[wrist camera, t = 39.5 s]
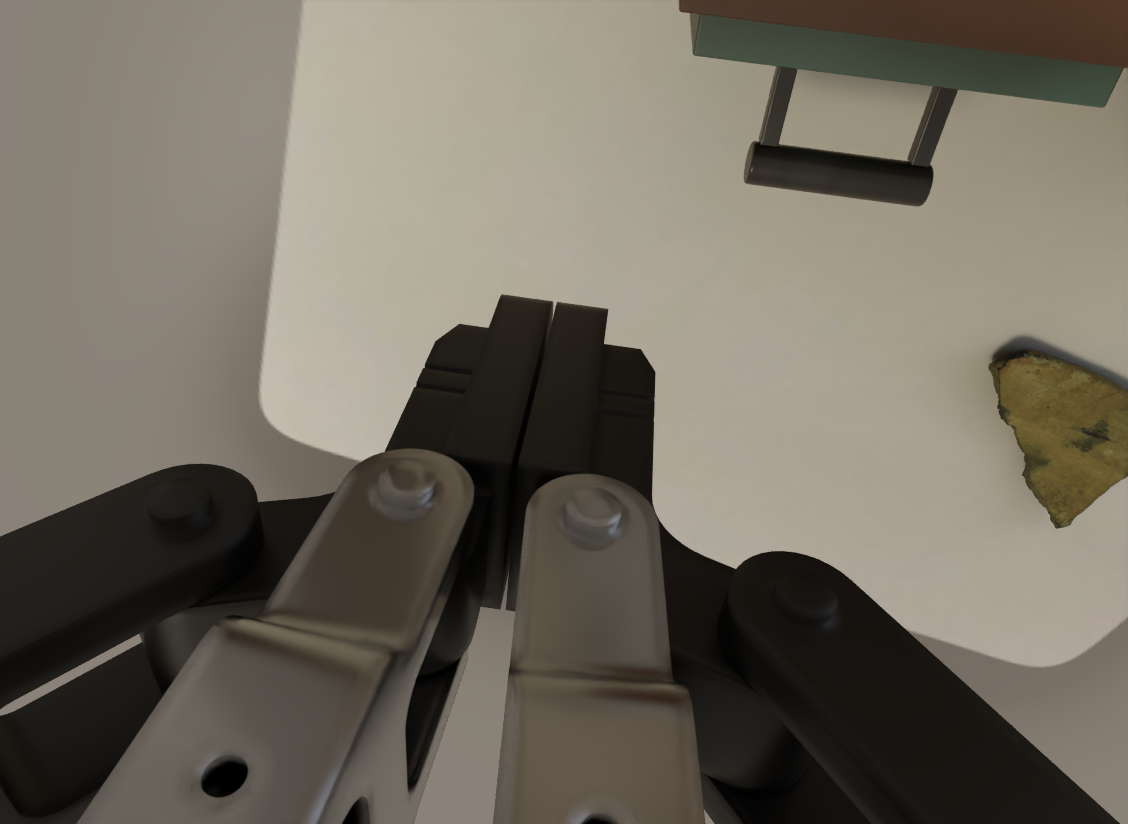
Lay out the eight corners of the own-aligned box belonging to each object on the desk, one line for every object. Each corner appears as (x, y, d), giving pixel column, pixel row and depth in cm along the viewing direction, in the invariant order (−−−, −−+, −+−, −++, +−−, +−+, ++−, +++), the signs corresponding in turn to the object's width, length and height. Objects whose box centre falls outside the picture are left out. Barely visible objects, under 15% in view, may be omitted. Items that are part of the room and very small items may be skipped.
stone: (972, 354, 37) (982, 372, 36) (1128, 294, 35) (1145, 312, 34) (1039, 519, 43) (1050, 541, 41) (1179, 478, 40) (1195, 500, 39)
